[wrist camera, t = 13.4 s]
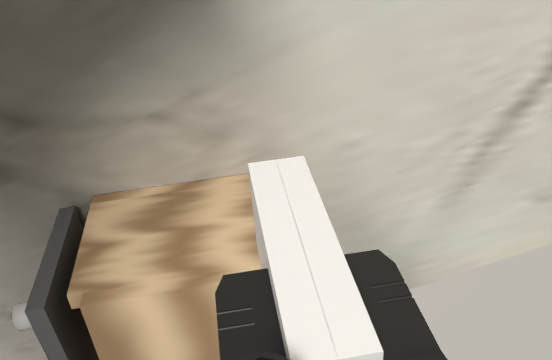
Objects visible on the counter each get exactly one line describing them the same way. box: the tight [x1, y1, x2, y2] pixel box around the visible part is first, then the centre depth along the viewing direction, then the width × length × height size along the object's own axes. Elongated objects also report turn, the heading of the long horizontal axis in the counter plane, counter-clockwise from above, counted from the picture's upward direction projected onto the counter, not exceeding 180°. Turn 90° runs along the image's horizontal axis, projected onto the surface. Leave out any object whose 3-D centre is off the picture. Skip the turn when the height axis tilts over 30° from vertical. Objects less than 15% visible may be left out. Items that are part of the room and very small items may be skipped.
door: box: [12, 207, 99, 360], centre depth 42 cm, size 3×16×12 cm, turn 6°
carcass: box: [67, 174, 262, 360], centre depth 43 cm, size 14×16×13 cm
